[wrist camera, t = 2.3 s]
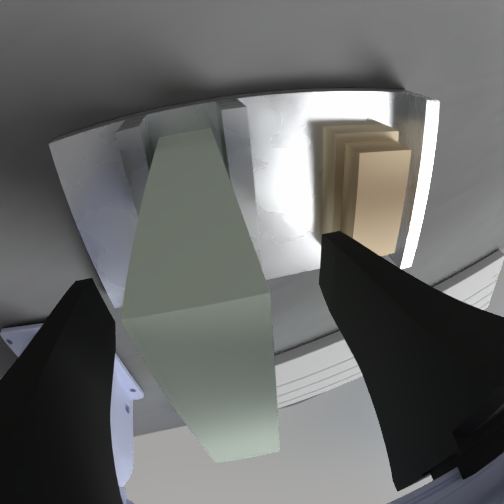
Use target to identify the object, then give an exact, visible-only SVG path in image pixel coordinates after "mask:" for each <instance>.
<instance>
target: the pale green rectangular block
mask: <svg viewBox="0 0 504 504" xmlns="http://www.w3.org/2000/svg"><path fill="white" fill-rule="evenodd" d="M121 322H122V324H123V326H124V327H125V329H126V331H127V333H128V335H129V336H130V338H131V340H132V342H133V343H134V345H135V347H136V349H137V350H138V352H139V354H140V355H141V357H142V359H143V360H144V362H145V364H146V365H147V367H148V368H149V370H150V372H151V373H152V375H153V376H154V378H155V380H156V381H157V383H158V384H159V386H160V387H161V389H162V390H163V392H164V393H165V395H166V396H167V398H168V399H169V401H170V402H171V404H172V405H173V407H174V408H175V410H176V411H177V412H178V414H179V415H180V417H181V418H182V419H183V421H184V422H185V424H186V425H187V426H188V428H189V429H190V430H191V432H192V433H193V434H194V436H195V437H196V438H197V440H198V441H199V442H200V444H201V445H202V446H203V448H204V449H205V450H206V451H207V453H208V454H209V455H210V456H211V458H212V459H213V460H214V461H215V462H216V463H220V462H227V461H233V460H239V459H244V458H249V457H255V456H260V455H264V454H269V453H274V452H278V451H280V446H279V426H278V407H277V390H276V373H275V357H274V341H273V325H272V310H271V296H270V290H269V288H268V285H267V282H266V279H265V276H264V274H263V271H262V268H261V265H260V262H259V260H258V257H257V254H256V251H255V248H254V246H253V243H252V240H251V237H250V235H249V232H248V229H247V226H246V223H245V221H244V218H243V215H242V212H241V209H240V207H239V204H238V201H237V198H236V196H235V193H234V190H233V187H232V184H231V182H230V179H229V176H228V173H227V171H226V168H225V165H224V162H223V160H222V157H221V154H220V151H219V148H218V146H217V143H216V140H215V137H214V135H213V132H212V129H211V128H206V129H201V130H195V131H190V132H184V133H179V134H174V135H169V136H165V137H160V138H159V139H158V142H157V146H156V149H155V153H154V157H153V160H152V164H151V168H150V171H149V175H148V179H147V183H146V187H145V191H144V195H143V199H142V204H141V208H140V212H139V217H138V221H137V226H136V231H135V236H134V241H133V246H132V251H131V256H130V262H129V268H128V273H127V279H126V286H125V292H124V299H123V306H122V313H121Z"/></svg>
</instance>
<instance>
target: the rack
mask: <svg viewBox="0 0 504 504" xmlns="http://www.w3.org/2000/svg"><path fill="white" fill-rule="evenodd" d="M439 106H440V101H438V100H435V99H432V98H429V97H426V96H423V95H420V94H417V93H414V92H411V91H408V90H398V89H378V88H314V89H294V90H280V91H268V92H257V93H248V94H240V95H232V96H224V97H218V98H211V99H205V100H199V101H193V102H187V103H182V104H177V105H172V106H167V107H162V108H158V109H153V110H149V111H144V112H140V113H136V114H132V115H128V116H124V117H121V118H117V119H113V120H110V121H106V122H103V123H99V124H96V125H93V126H89V127H86V128H83V129H80V130H77V131H74V132H71V133H68V134H65V135H62V136H59V137H57V138H55V139H54V140H53V141H52V142H50V143H49V147H50V151H51V154H52V157H53V160H54V164H55V167H56V170H57V173H58V176H59V179H60V182H61V185H62V188H63V190H64V193H65V196H66V199H67V201H68V204H69V207H70V210H71V212H72V215H73V217H74V220H75V222H76V225H77V227H78V230H79V232H80V235H81V237H82V239H83V242H84V244H85V246H86V249H87V251H88V253H89V256H90V258H91V260H92V262H93V264H94V267H95V269H96V271H97V273H98V275H99V277H100V279H101V282H102V284H103V286H104V288H105V290H106V292H107V294H108V296H109V298H110V300H111V302H112V304H113V306H114V308H118V307H122V306H123V299H124V292H125V286H126V279H127V273H128V268H129V262H130V256H131V251H132V246H133V241H134V236H135V231H136V226H137V221H138V217H139V212H140V208H141V204H142V199H143V195H144V191H145V187H146V183H147V179H148V175H149V171H150V168H151V164H152V160H153V157H154V153H155V149H156V146H157V142H158V139H159V138H160V137H165V136H169V135H174V134H179V133H184V132H190V131H195V130H201V129H206V128H211V129H212V132H213V135H214V137H215V140H216V143H217V146H218V148H219V151H220V154H221V157H222V160H223V162H224V165H225V168H226V171H227V173H228V176H229V179H230V182H231V184H232V187H233V190H234V193H235V196H236V198H237V201H238V204H239V207H240V209H241V212H242V215H243V218H244V221H245V223H246V226H247V229H248V232H249V235H250V237H251V240H252V243H253V246H254V248H255V251H256V254H257V257H258V260H259V262H260V265H261V268H262V271H263V274H264V276H265V279H266V280H267V279H272V278H277V277H282V276H286V275H291V274H296V273H301V272H305V271H310V270H315V269H319V268H320V259H321V235H322V208H323V127H324V126H339V125H359V124H385V125H387V126H389V127H391V128H393V129H395V130H397V131H399V138H398V142H399V143H400V144H402V145H404V146H406V147H407V148H409V149H411V158H410V166H409V174H408V181H407V188H406V195H405V201H404V207H403V213H402V218H401V224H400V229H399V234H398V239H397V244H396V249H395V253H392V254H388V255H389V257H390V258H391V259H392V260H393V261H394V263H395V264H396V265H397V266H398V268H400V269H403V268H407V267H411V265H412V262H413V258H414V254H415V250H416V246H417V242H418V238H419V234H420V230H421V225H422V221H423V216H424V212H425V207H426V202H427V196H428V191H429V186H430V180H431V174H432V167H433V161H434V153H435V146H436V138H437V128H438V118H439Z"/></svg>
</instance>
